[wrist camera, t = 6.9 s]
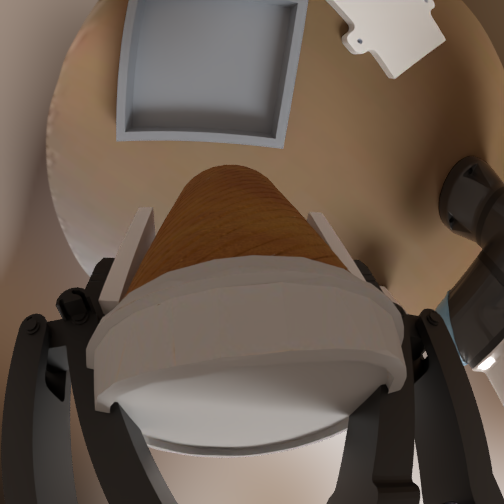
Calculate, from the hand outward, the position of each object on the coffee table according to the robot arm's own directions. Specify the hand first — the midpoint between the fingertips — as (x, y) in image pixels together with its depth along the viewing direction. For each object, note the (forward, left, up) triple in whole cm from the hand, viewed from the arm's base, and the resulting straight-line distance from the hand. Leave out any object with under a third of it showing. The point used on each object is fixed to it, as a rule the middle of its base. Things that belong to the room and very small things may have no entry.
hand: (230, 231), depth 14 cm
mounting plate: (-18, -22, -20) cm, 35 cm away
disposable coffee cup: (0, 0, -2) cm, 2 cm away
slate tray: (+3, -10, -19) cm, 22 cm away
